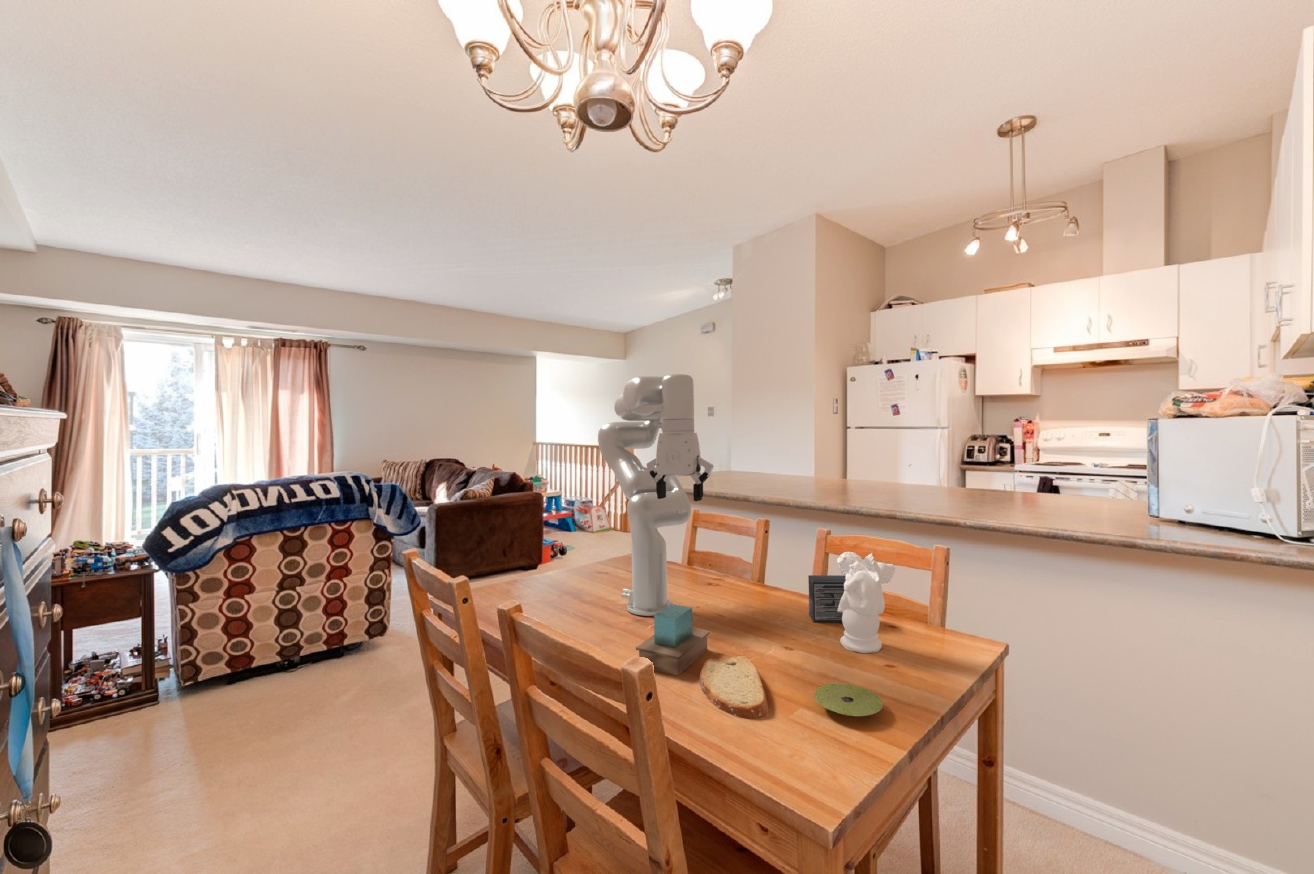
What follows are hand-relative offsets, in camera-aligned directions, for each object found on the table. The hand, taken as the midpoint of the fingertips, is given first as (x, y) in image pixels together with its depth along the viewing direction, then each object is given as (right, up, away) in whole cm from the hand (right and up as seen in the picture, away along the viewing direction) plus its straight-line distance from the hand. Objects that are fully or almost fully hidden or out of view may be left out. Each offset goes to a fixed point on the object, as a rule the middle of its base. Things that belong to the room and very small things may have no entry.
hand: (679, 499), depth 127 cm
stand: (-2, -33, -12) cm, 35 cm away
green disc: (+28, -33, -34) cm, 55 cm away
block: (-2, -29, -12) cm, 31 cm away
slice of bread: (+10, -33, -25) cm, 43 cm away
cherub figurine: (+42, -32, -7) cm, 53 cm away
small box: (+39, -32, +9) cm, 51 cm away
